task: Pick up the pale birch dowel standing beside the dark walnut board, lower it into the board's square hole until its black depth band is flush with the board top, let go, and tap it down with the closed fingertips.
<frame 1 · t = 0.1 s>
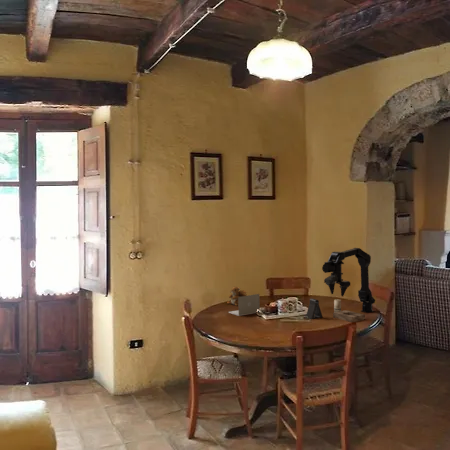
hand: (337, 295, 318), 15 cm above the table, fingers open, 9 cm apart
walnut board: (348, 318, 316), on the table
stuffed squirrel: (237, 304, 366), on the table
birch peg: (337, 313, 330), on the table
laptop: (243, 313, 338), on the table
phone stand: (314, 317, 320), on the table
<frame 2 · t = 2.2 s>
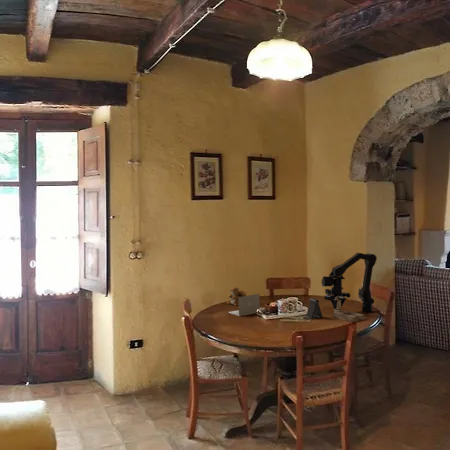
hand: (337, 308, 329), 3 cm above the table, fingers closed on birch peg, 4 cm apart
birch peg: (337, 313, 330), on the table, touching gripper
everything else where it was.
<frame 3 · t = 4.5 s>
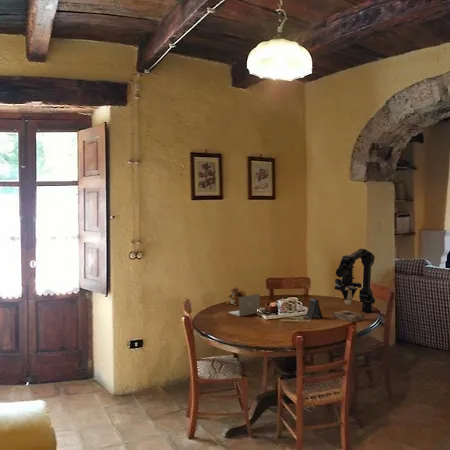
hand: (348, 299, 315), 12 cm above the table, fingers closed on birch peg, 4 cm apart
birch peg: (348, 304, 316), point 9 cm above the table, touching gripper
everything else where it was.
when the fingers open (4 cm above the table, at t = 6.7 s): birch peg drops 1 cm, resting in walnut board.
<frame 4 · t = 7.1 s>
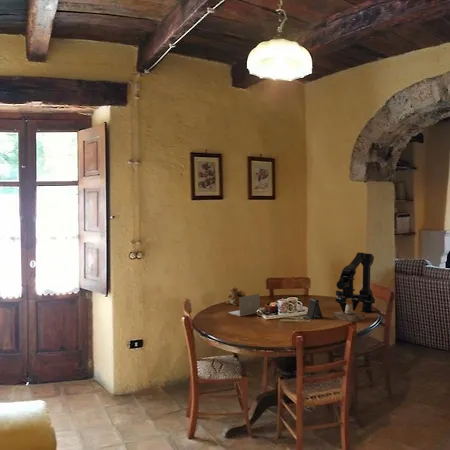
hand: (348, 311, 315), 4 cm above the table, fingers open, 9 cm apart
birch peg: (348, 318, 316), resting in walnut board
everything else where it was.
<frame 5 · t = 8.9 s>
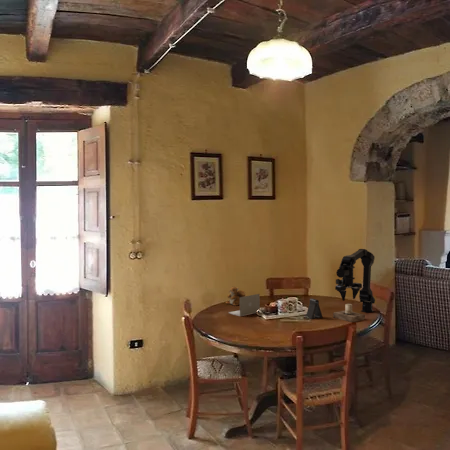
hand: (348, 299, 315), 12 cm above the table, fingers open, 9 cm apart
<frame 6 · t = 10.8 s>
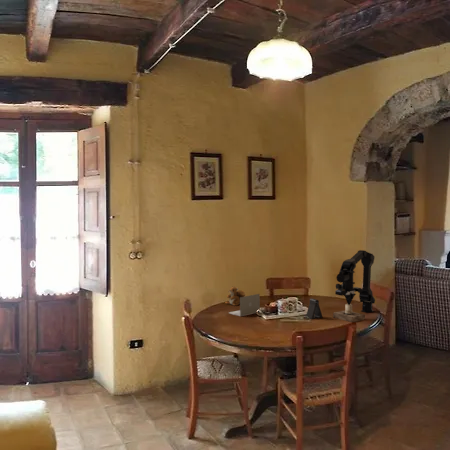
hand: (348, 304, 315), 9 cm above the table, fingers closed, pressing on birch peg
birch peg: (348, 318, 316), resting in walnut board, touching gripper
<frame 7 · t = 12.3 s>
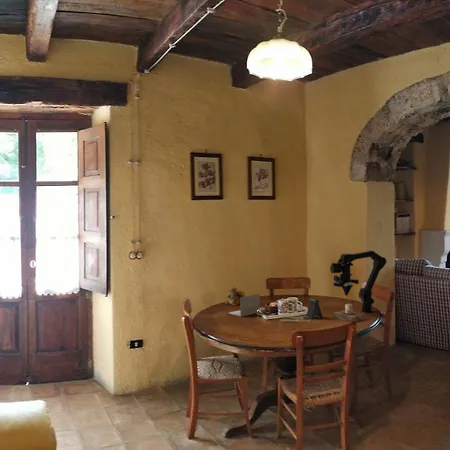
hand: (346, 295, 330), 12 cm above the table, fingers closed
birch peg: (348, 318, 316), resting in walnut board
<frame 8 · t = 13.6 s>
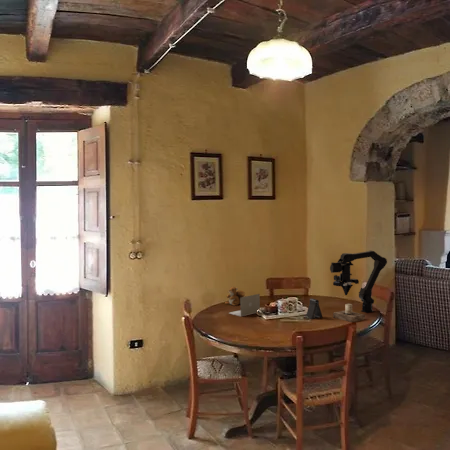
hand: (346, 295, 330), 12 cm above the table, fingers closed
at the end: birch peg 0.0 cm off-centre on the walnut board, point 0.0 cm above the walnut board's base; birch peg tilted 0°; the gripper is holding nothing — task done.
